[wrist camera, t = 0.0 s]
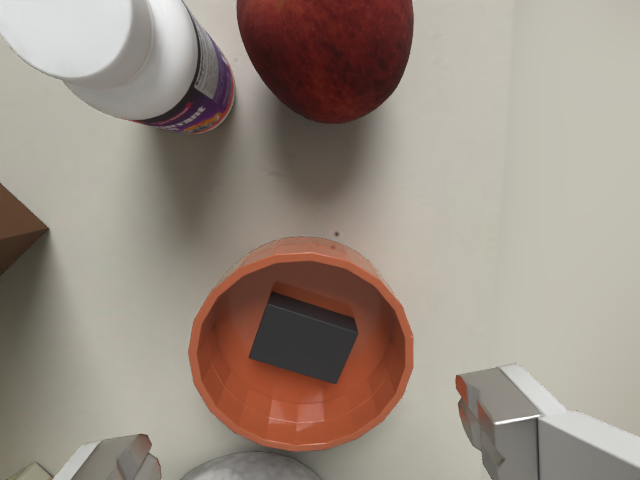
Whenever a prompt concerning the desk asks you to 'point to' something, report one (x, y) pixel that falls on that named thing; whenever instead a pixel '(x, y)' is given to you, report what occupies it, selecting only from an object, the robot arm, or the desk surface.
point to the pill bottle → (126, 58)
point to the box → (31, 473)
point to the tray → (16, 228)
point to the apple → (328, 52)
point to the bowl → (290, 387)
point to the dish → (252, 468)
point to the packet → (304, 338)
